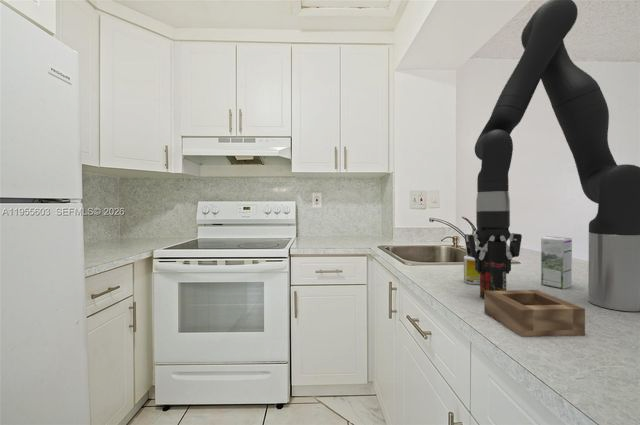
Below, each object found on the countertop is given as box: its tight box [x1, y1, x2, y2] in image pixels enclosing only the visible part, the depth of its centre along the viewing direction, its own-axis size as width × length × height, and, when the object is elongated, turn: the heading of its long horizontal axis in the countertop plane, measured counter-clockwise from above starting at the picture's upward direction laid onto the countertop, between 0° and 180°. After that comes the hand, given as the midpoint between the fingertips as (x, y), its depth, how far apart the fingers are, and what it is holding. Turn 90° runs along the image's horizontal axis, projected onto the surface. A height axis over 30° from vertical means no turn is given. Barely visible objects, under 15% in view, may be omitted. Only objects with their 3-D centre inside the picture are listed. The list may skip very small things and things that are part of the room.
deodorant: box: [479, 242, 507, 300], centre depth 76 cm, size 6×6×15 cm
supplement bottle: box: [463, 252, 480, 286], centre depth 91 cm, size 6×6×10 cm
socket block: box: [483, 289, 586, 337], centre depth 60 cm, size 12×12×5 cm
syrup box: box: [540, 235, 573, 290], centre depth 86 cm, size 6×6×14 cm
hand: (492, 273), depth 76 cm, fingers closed on deodorant, 6 cm apart
